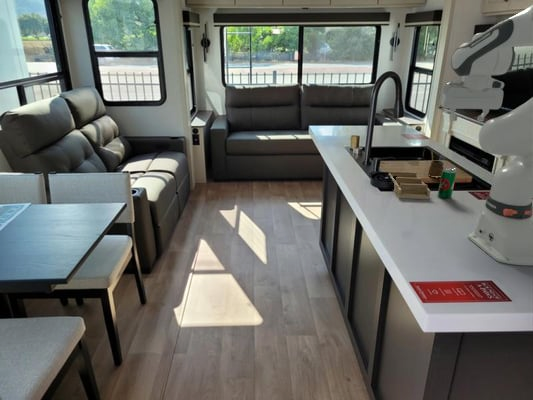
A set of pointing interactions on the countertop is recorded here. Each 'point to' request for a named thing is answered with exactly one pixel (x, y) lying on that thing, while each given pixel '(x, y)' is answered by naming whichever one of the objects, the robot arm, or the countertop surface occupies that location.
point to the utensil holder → (436, 167)
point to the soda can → (447, 182)
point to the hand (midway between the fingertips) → (466, 120)
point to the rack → (409, 185)
